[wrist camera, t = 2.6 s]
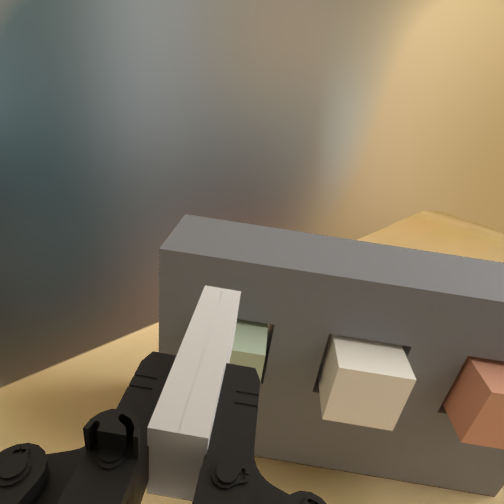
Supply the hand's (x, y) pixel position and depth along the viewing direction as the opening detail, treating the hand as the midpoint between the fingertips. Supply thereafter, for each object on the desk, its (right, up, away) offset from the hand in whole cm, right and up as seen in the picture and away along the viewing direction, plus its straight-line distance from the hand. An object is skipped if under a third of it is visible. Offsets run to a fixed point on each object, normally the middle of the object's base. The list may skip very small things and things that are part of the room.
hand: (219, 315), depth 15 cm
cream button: (+8, -7, +10) cm, 15 cm away
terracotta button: (+17, -9, +10) cm, 22 cm away
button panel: (+7, -14, +16) cm, 23 cm away
